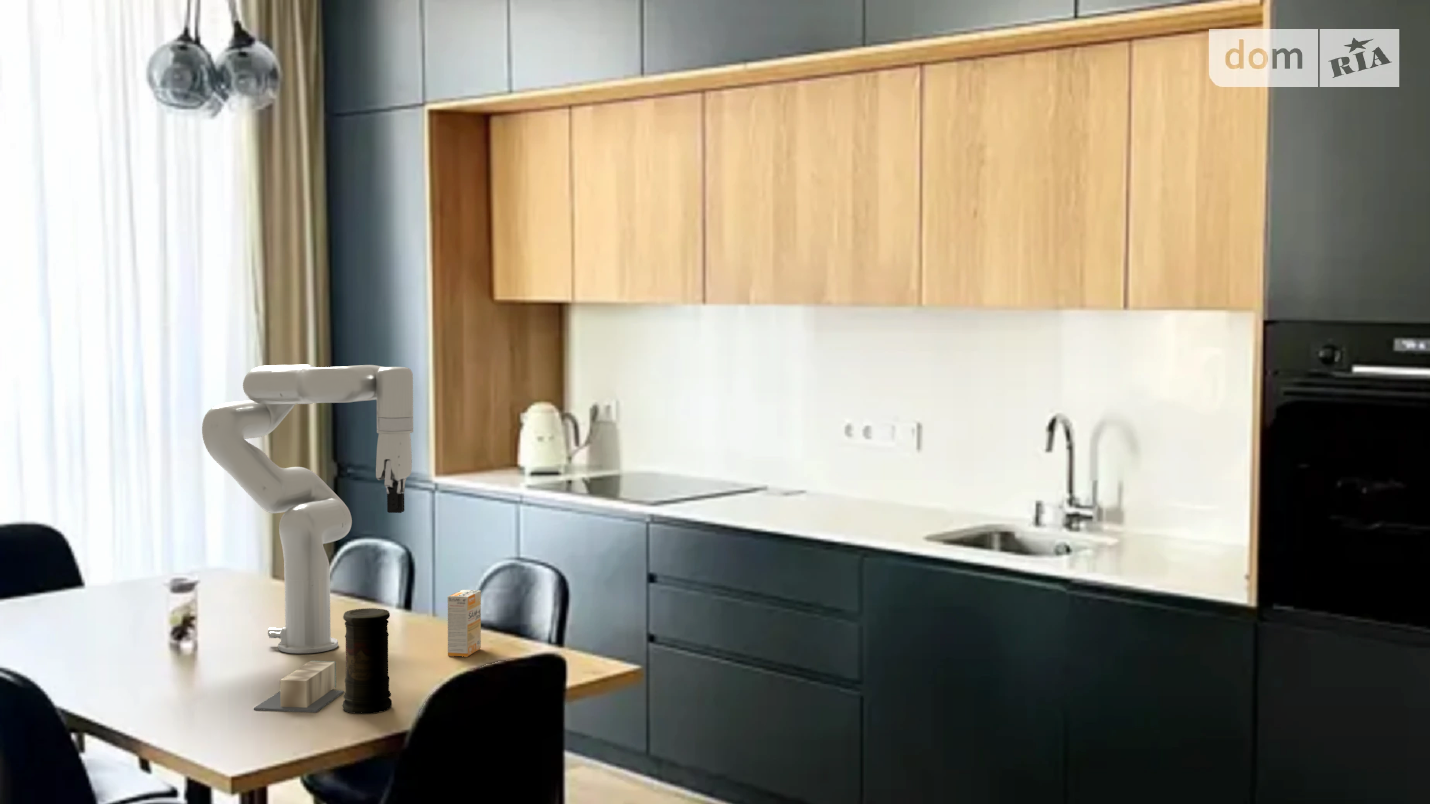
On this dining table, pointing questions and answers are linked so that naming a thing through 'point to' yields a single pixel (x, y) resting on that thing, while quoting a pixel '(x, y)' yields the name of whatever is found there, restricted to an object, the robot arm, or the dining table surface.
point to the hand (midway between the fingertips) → (395, 512)
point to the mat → (275, 705)
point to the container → (366, 661)
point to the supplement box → (464, 622)
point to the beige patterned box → (308, 684)
